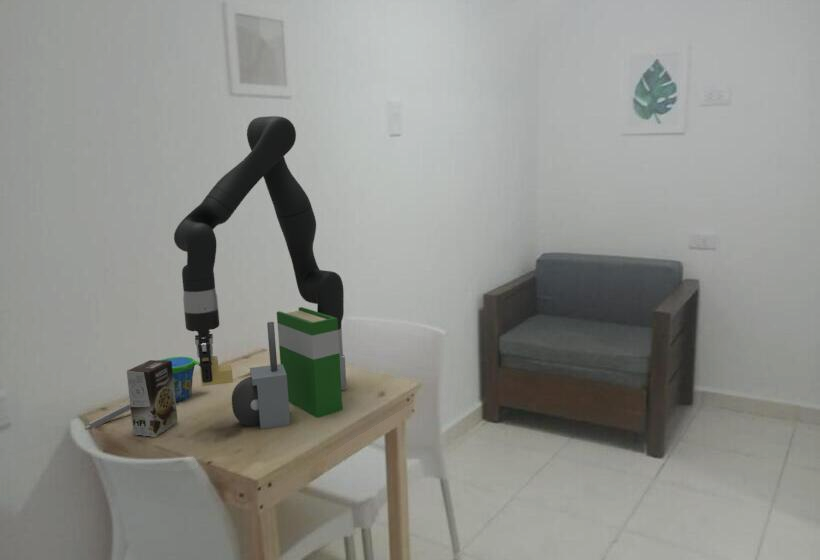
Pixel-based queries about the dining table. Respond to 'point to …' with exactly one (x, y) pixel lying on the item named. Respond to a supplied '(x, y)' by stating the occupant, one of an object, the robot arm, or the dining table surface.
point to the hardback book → (311, 360)
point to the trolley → (263, 393)
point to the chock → (218, 372)
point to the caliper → (109, 416)
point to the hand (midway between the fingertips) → (207, 377)
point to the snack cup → (182, 376)
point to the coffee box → (152, 397)
